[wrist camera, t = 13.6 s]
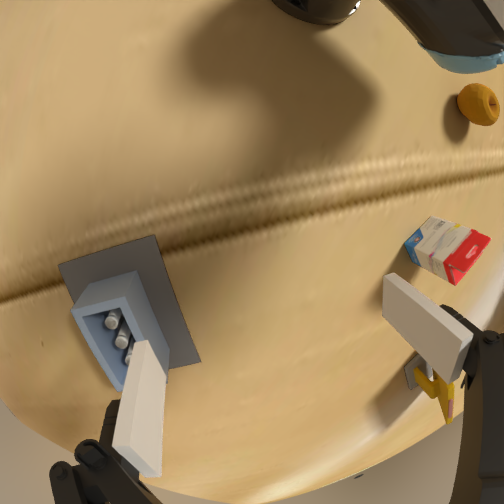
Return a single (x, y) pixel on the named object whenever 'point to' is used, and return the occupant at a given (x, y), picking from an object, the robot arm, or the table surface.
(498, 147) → the table surface
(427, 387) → the yellow framed monitor
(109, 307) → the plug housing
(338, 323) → the table surface
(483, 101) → the apple
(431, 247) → the ink box
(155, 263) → the header
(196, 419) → the table surface
